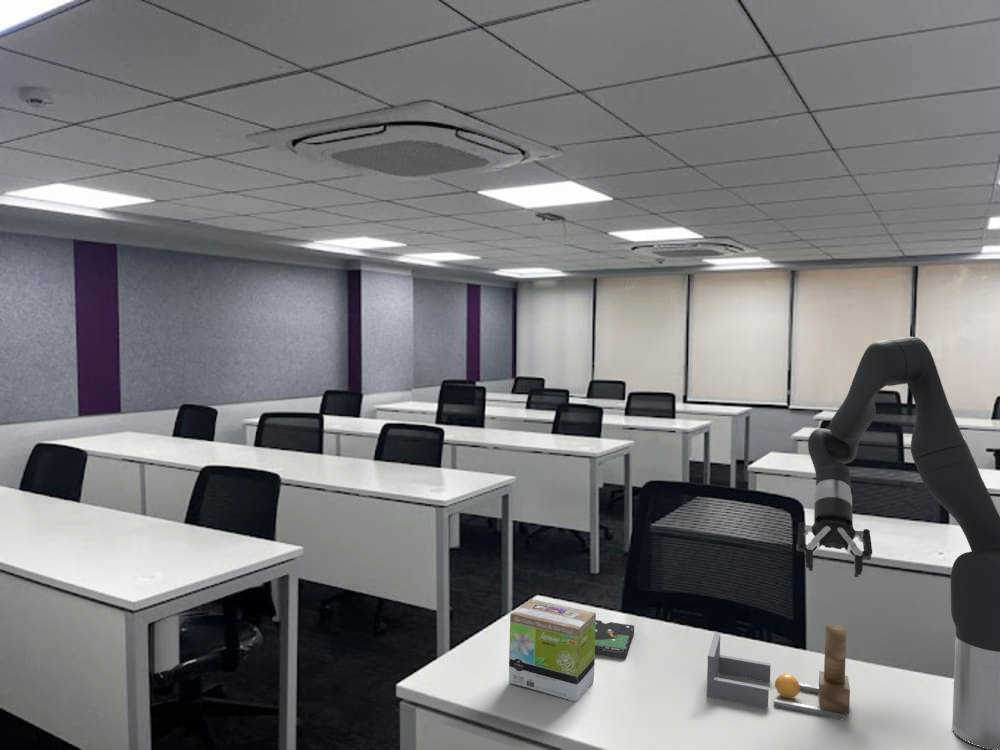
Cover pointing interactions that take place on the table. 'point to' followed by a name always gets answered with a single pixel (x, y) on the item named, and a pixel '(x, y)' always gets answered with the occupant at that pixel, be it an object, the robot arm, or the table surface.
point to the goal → (740, 669)
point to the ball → (787, 686)
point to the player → (834, 672)
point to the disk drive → (613, 639)
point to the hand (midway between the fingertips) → (833, 572)
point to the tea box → (552, 649)
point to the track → (806, 707)
